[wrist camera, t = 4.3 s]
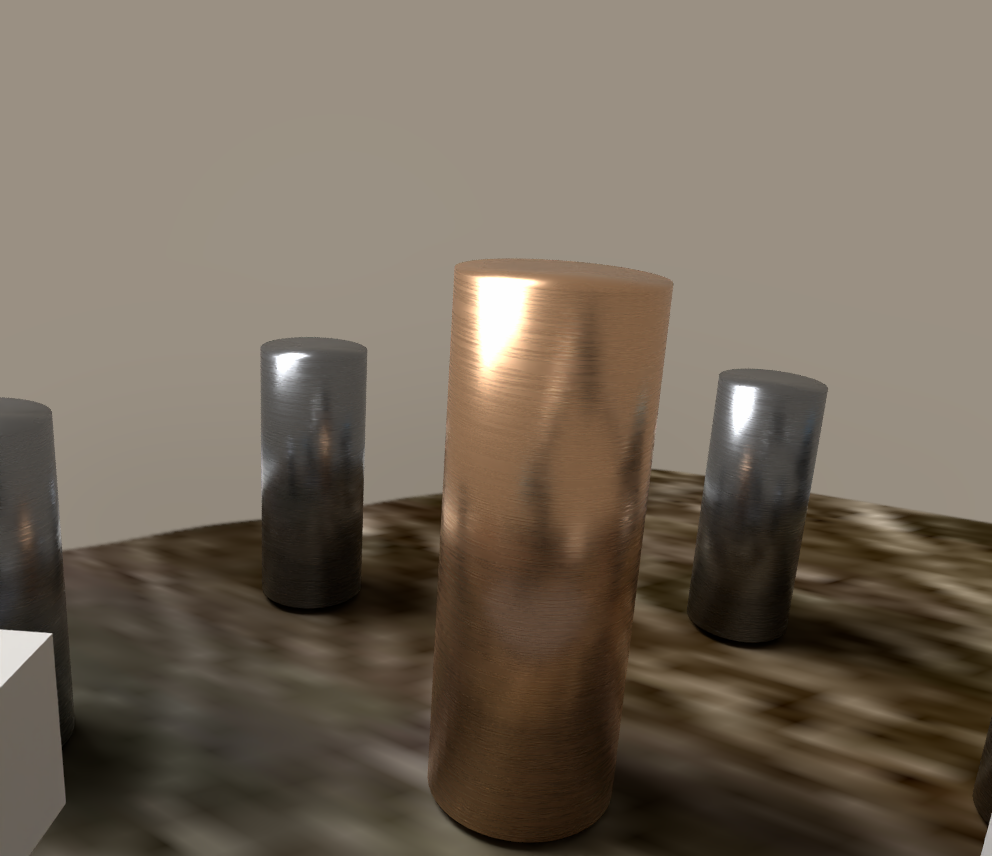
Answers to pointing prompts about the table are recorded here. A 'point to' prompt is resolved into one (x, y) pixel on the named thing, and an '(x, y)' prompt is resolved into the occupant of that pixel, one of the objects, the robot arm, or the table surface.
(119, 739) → the table surface
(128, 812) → the table surface
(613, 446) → the cylinder
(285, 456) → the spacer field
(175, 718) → the table surface
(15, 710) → the robot arm
